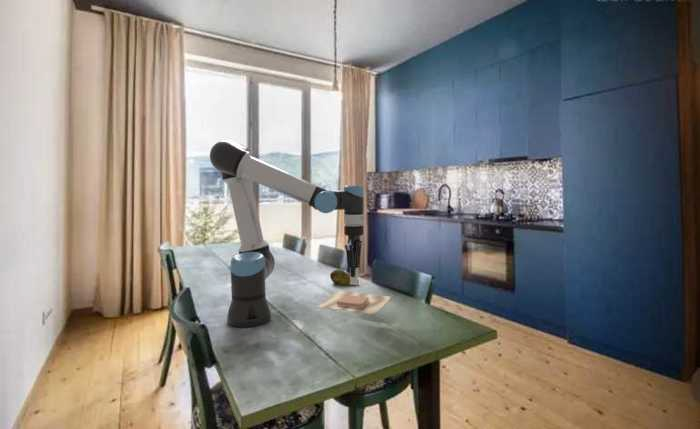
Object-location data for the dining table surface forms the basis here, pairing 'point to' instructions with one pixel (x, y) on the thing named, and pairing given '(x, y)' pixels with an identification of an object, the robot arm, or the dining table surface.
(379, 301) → the board
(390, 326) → the dining table surface
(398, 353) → the dining table surface
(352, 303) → the tile
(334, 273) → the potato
